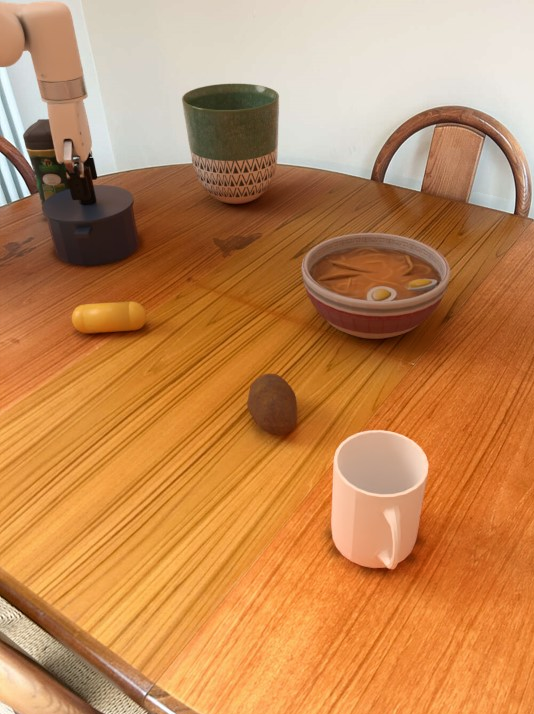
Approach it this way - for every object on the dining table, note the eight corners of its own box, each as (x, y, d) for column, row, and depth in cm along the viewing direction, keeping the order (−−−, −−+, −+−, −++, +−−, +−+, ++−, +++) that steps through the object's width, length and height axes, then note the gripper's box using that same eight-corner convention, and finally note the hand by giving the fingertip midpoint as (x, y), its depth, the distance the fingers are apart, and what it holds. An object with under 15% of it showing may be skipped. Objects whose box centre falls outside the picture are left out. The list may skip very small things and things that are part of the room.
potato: (259, 449, 84) (256, 412, 80) (240, 403, 91) (236, 367, 87) (307, 438, 85) (307, 401, 81) (285, 393, 93) (284, 357, 89)
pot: (46, 275, 119) (34, 231, 114) (65, 225, 135) (55, 185, 130) (133, 270, 120) (125, 227, 115) (142, 221, 137) (135, 181, 131)
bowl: (454, 360, 98) (464, 302, 92) (302, 361, 98) (302, 303, 92) (430, 284, 116) (437, 231, 110) (301, 284, 116) (300, 232, 110)
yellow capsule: (73, 340, 103) (66, 315, 100) (77, 324, 107) (71, 299, 104) (147, 335, 104) (143, 310, 101) (149, 319, 108) (145, 295, 105)
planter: (292, 187, 150) (291, 87, 137) (263, 222, 136) (259, 114, 122) (214, 178, 155) (205, 80, 141) (178, 211, 141) (164, 105, 127)
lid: (35, 229, 116) (23, 187, 111) (52, 193, 129) (41, 153, 124) (130, 224, 117) (122, 182, 112) (137, 188, 130) (131, 149, 125)
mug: (388, 493, 78) (397, 420, 70) (445, 570, 69) (462, 496, 62) (316, 519, 75) (317, 445, 67) (367, 603, 66) (375, 529, 59)
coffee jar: (51, 204, 144) (29, 115, 132) (88, 203, 144) (68, 115, 132) (40, 223, 136) (15, 131, 124) (79, 222, 137) (57, 130, 125)
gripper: (49, 76, 116) (72, 172, 127) (29, 104, 103) (56, 209, 114) (92, 74, 116) (111, 170, 127) (78, 102, 103) (100, 207, 114)
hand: (85, 188), depth 121 cm, fingers open, 8 cm apart
